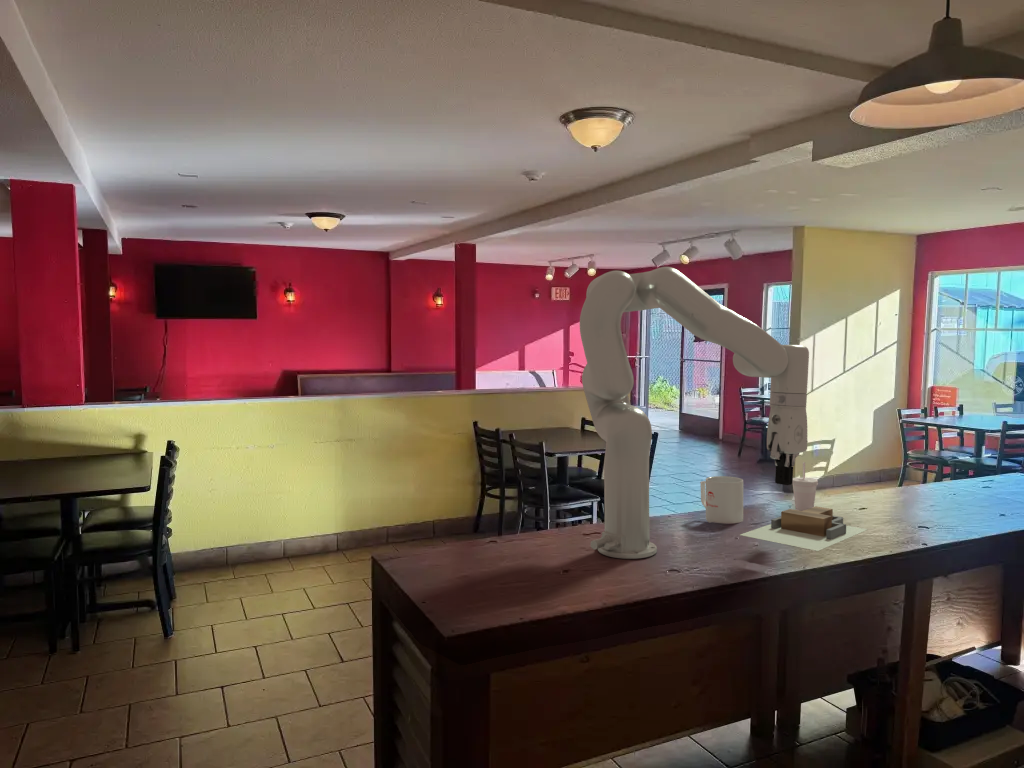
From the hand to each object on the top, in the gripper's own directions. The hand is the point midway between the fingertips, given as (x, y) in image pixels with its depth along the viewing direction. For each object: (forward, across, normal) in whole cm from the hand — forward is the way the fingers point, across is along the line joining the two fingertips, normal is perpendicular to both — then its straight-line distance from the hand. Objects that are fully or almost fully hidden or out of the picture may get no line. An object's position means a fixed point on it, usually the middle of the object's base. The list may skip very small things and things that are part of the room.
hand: (783, 483), depth 156 cm
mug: (+14, +8, +20) cm, 25 cm away
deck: (+13, +9, -1) cm, 16 cm away
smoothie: (+13, +27, +8) cm, 31 cm away
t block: (+12, +14, -1) cm, 18 cm away
